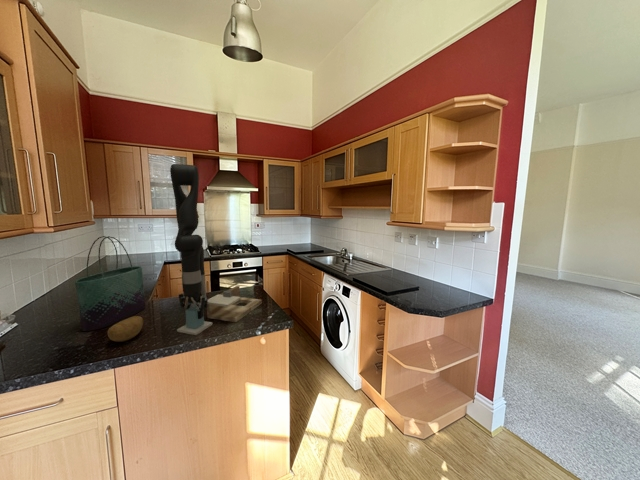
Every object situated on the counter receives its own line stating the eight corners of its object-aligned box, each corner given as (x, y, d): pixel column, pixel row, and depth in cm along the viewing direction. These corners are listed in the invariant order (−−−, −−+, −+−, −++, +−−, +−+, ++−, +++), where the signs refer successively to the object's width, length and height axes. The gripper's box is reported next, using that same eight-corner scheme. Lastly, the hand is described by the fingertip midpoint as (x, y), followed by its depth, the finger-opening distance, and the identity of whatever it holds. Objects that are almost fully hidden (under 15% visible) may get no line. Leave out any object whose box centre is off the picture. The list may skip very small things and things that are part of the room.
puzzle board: (207, 317, 123) (206, 301, 122) (237, 300, 146) (236, 285, 145) (235, 322, 118) (235, 305, 117) (261, 303, 141) (261, 288, 140)
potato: (152, 330, 111) (150, 312, 110) (124, 348, 97) (122, 328, 96) (131, 329, 112) (129, 312, 111) (101, 346, 98) (98, 327, 97)
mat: (177, 331, 110) (177, 329, 110) (194, 321, 119) (194, 319, 119) (196, 335, 107) (195, 332, 107) (212, 324, 116) (212, 322, 116)
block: (194, 322, 116) (194, 305, 115) (204, 324, 114) (203, 307, 113) (186, 327, 111) (185, 310, 110) (195, 329, 110) (194, 311, 108)
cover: (203, 303, 118) (203, 296, 118) (218, 296, 128) (217, 289, 127) (227, 306, 114) (227, 299, 114) (240, 299, 124) (240, 292, 123)
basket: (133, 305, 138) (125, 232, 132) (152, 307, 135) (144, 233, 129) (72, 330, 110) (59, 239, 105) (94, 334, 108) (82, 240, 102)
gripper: (211, 279, 111) (214, 316, 114) (185, 276, 115) (188, 312, 118) (199, 284, 104) (201, 323, 107) (171, 281, 108) (174, 319, 111)
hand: (194, 317), depth 112 cm, fingers open, 5 cm apart
